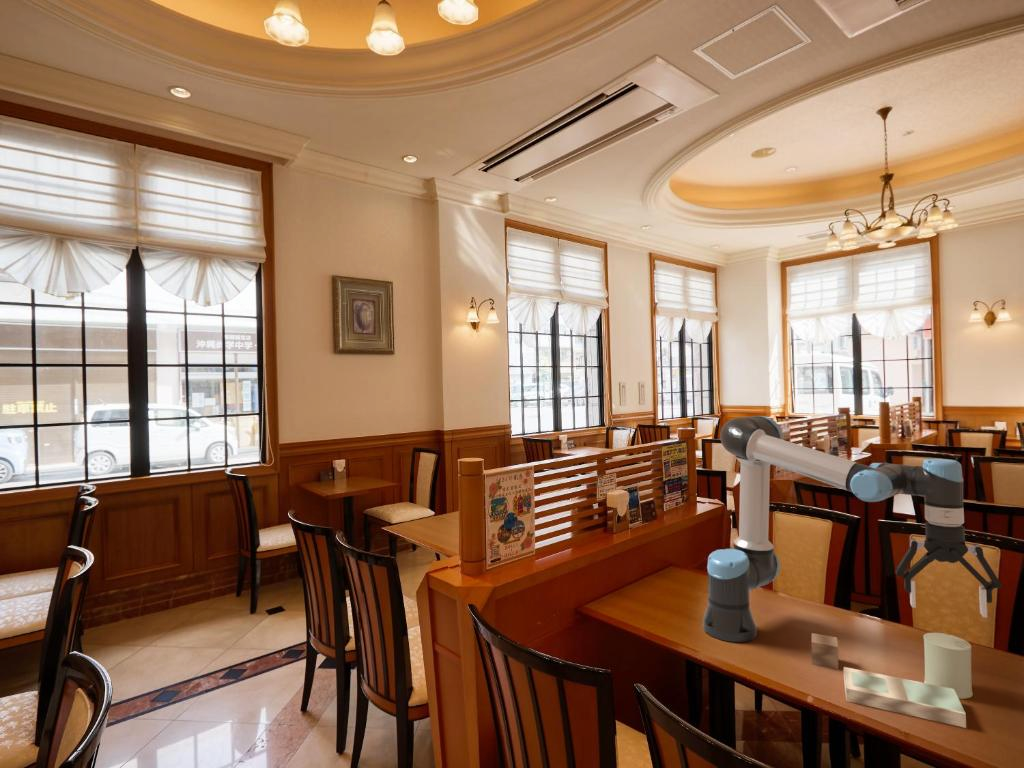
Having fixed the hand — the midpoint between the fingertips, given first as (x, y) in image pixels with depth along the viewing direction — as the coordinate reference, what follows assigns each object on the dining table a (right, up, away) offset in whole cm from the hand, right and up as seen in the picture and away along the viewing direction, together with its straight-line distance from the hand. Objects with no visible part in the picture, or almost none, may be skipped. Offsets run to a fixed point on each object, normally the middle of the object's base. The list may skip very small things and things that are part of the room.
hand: (947, 610), depth 132 cm
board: (-15, -19, -5) cm, 25 cm away
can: (0, -19, 0) cm, 19 cm away
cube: (-22, -20, +13) cm, 32 cm away
